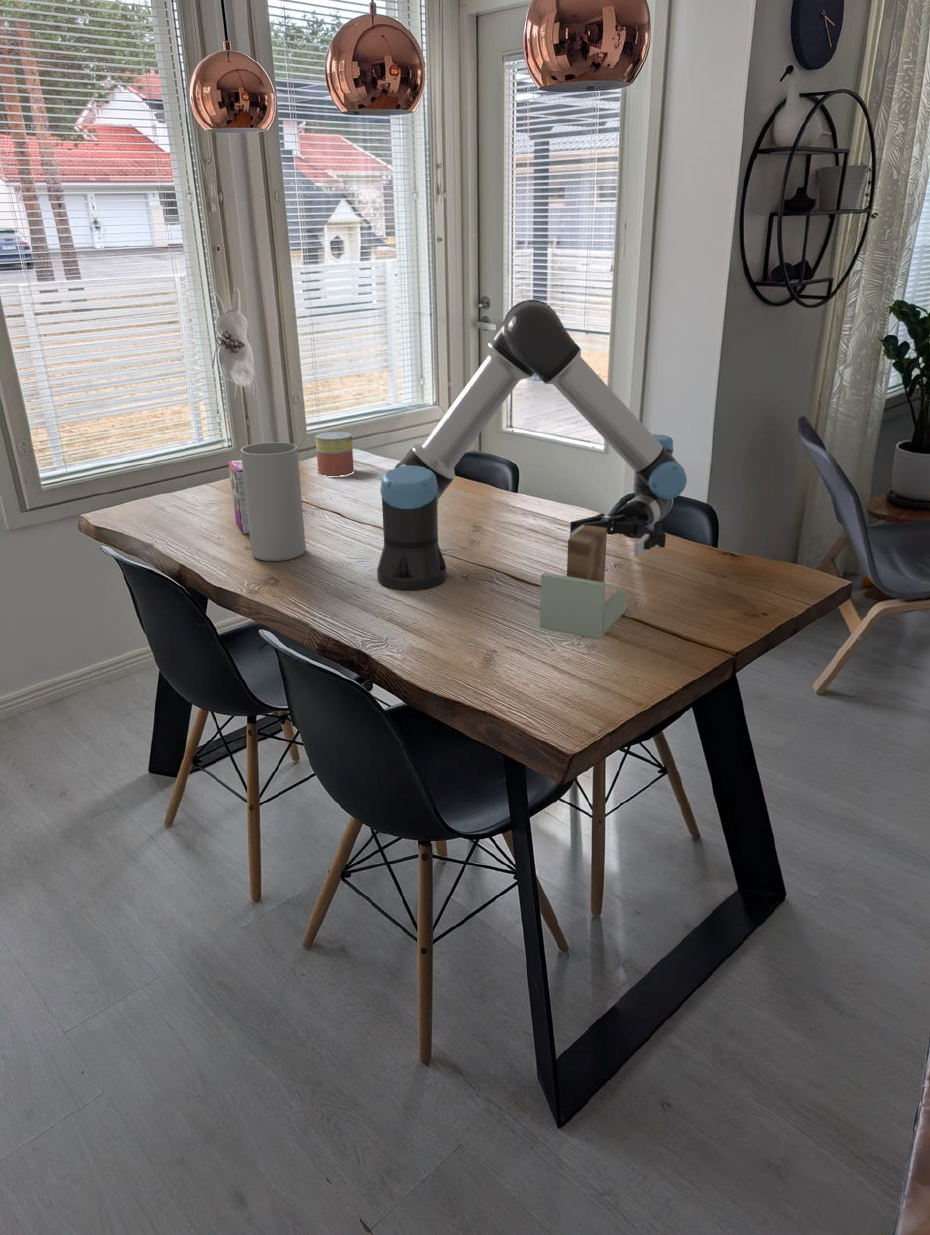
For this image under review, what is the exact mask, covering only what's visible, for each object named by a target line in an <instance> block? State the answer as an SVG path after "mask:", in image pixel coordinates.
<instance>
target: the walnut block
mask: <svg viewBox="0 0 930 1235" xmlns="http://www.w3.org/2000/svg"><path fill="white" fill-rule="evenodd" d="M607 537H608V534H607V528H604V527H597V526H589V525H587V526H586V527H584V528H583V529H582V530H580V531H579V532H578V533H576V534H575V535H574V536H573V537H571V538H570V537H569V539H568V540H567V562H566V563H567V564H566V565H567V566H566V576H568V577H574V578H580V579H586V580H593V581H599V582H605V574H606V573H605V572H606V556H607V554H606V553H607Z"/></svg>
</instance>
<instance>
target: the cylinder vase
mask: <svg viewBox="0 0 930 1235" xmlns="http://www.w3.org/2000/svg"><path fill="white" fill-rule="evenodd" d="M240 456H241V457H240V458H241V460H242V467H243V477H244V486H245V495H246V504H247V513H248V523H249V532H250V533H249V539H250V550H251V554H252V556H253V557H254V558H256V559H258V560H261V561H264V562H265V561H266V562H284V561H290V560H294V559H296V558H299V557H301V556H302V555H303V554H304V553H305V552H306V550H307V548H306V538H305V523H304V511H303V501H302V500H303V499H302V489H301V488H302V487H301V476H300V467H299V466H300V464H299V452H298V446H297V444H294V443H289V442H281V441H280V442H279V441H277V442H276V441H275V442H272V441H271V442H259V443H254V444H248V445H246V446H243V447H242V448H241V449H240Z"/></svg>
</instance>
